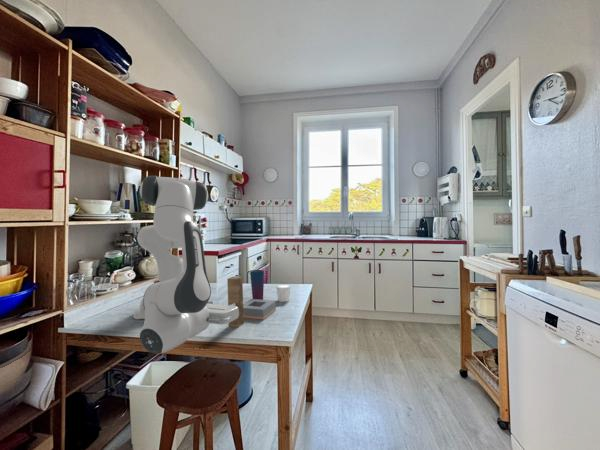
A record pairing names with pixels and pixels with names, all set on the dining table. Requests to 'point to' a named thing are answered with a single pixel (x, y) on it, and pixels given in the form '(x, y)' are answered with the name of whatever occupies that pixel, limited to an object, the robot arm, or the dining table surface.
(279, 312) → the dining table surface
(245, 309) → the end cap
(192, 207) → the robot arm
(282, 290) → the shot glass
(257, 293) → the cup
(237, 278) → the block
